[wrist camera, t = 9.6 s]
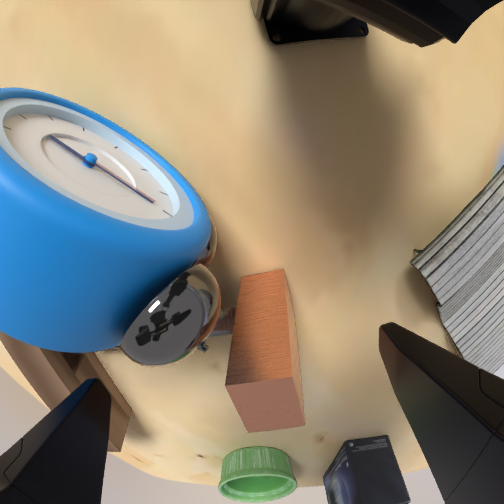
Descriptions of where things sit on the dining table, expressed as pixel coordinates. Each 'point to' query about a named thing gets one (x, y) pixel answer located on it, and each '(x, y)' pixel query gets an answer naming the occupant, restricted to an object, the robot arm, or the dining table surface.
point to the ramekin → (256, 475)
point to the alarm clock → (99, 237)
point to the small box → (365, 474)
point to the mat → (471, 276)
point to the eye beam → (67, 380)
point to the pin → (263, 354)
